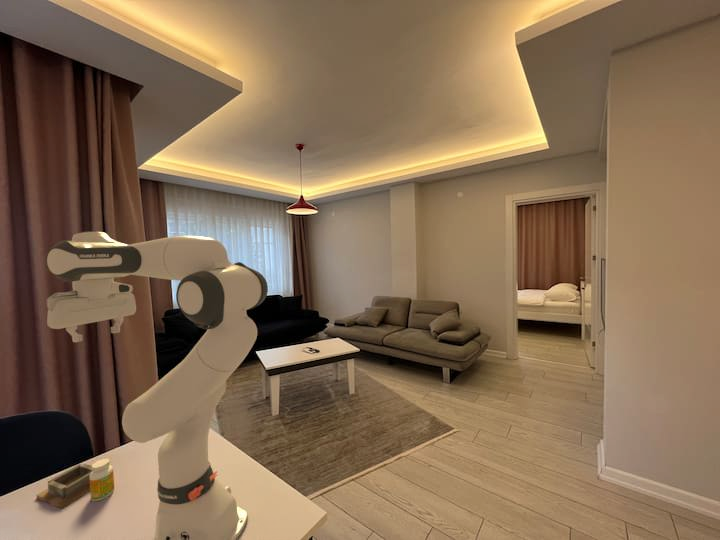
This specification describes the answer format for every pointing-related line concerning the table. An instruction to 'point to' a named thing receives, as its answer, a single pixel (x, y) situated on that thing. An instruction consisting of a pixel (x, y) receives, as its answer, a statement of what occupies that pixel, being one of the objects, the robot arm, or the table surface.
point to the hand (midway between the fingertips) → (97, 336)
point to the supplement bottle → (101, 480)
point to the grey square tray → (67, 486)
